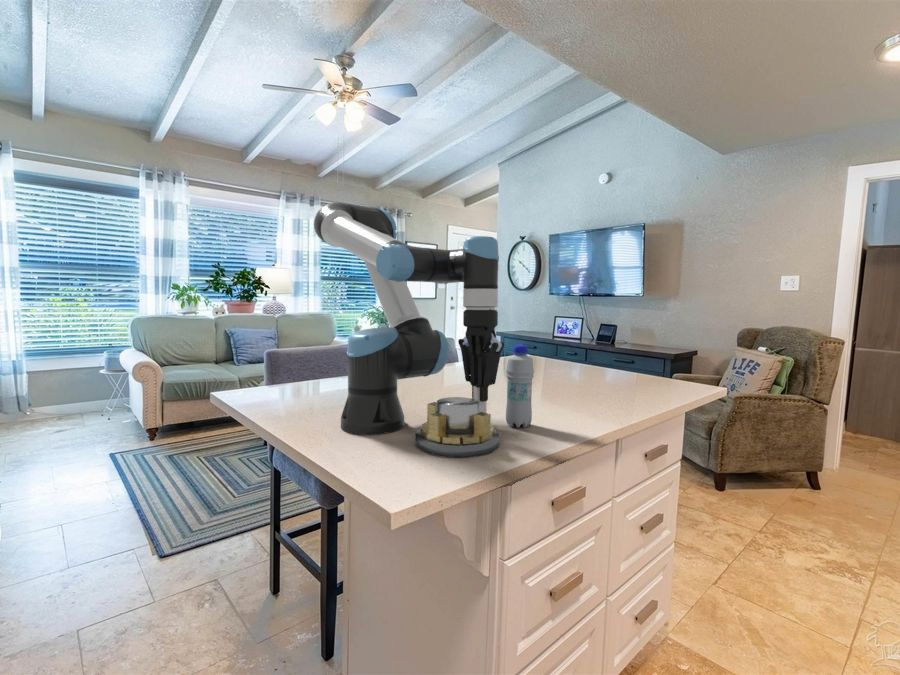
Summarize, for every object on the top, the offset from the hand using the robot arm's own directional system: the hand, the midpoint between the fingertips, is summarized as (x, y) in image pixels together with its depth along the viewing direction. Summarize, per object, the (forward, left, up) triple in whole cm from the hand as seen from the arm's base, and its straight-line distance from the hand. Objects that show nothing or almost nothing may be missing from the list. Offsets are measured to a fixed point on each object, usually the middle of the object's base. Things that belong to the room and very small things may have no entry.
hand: (479, 414), depth 101 cm
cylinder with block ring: (-3, -5, -3) cm, 7 cm away
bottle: (+7, +13, -5) cm, 15 cm away
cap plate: (-3, -5, -5) cm, 8 cm away
